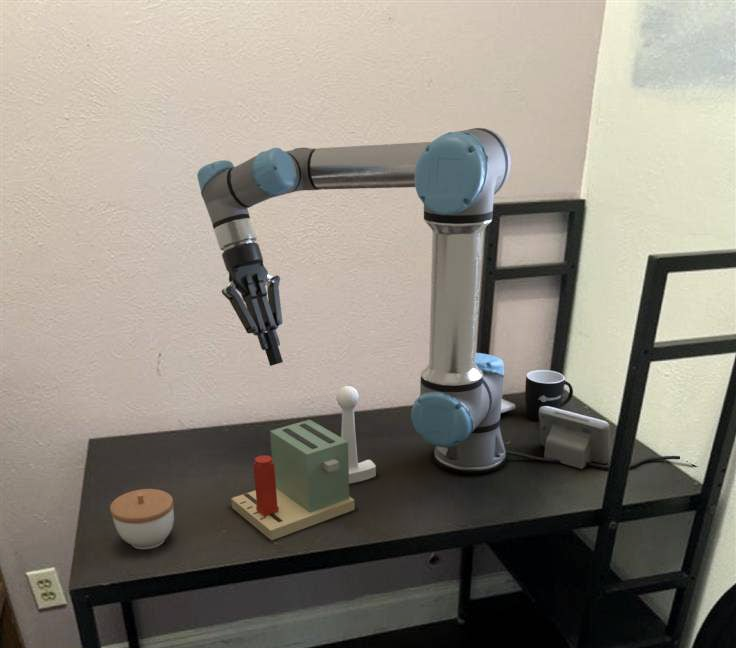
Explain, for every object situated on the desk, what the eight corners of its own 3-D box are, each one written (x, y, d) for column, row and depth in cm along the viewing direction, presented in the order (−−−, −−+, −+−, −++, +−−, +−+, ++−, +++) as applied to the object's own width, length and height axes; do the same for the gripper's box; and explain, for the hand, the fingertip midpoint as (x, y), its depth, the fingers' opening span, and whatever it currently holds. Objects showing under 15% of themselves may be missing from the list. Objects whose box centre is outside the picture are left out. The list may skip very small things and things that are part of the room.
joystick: (327, 487, 158) (323, 394, 148) (316, 471, 164) (311, 381, 154) (378, 478, 161) (378, 386, 151) (365, 463, 167) (364, 374, 157)
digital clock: (613, 464, 166) (621, 418, 160) (587, 477, 161) (594, 429, 156) (553, 440, 177) (558, 396, 171) (527, 451, 172) (531, 406, 166)
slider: (256, 510, 145) (251, 458, 140) (271, 505, 147) (266, 453, 142) (264, 516, 143) (259, 464, 138) (279, 511, 145) (275, 459, 139)
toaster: (231, 508, 151) (224, 440, 144) (312, 481, 160) (309, 416, 153) (273, 542, 140) (267, 471, 133) (357, 511, 149) (356, 443, 142)
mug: (531, 425, 184) (535, 384, 179) (516, 411, 192) (520, 371, 186) (578, 420, 186) (583, 380, 181) (561, 406, 194) (566, 367, 189)
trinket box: (114, 559, 135) (104, 512, 131) (120, 527, 145) (111, 483, 140) (177, 553, 137) (170, 506, 132) (179, 522, 146) (172, 478, 141)
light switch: (458, 412, 191) (459, 393, 189) (488, 403, 196) (489, 384, 194) (486, 425, 184) (487, 405, 182) (516, 415, 189) (518, 396, 187)
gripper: (256, 247, 160) (291, 359, 165) (202, 257, 152) (240, 375, 157) (275, 236, 154) (311, 353, 159) (220, 246, 146) (259, 369, 151)
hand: (276, 363), depth 158 cm, fingers closed
